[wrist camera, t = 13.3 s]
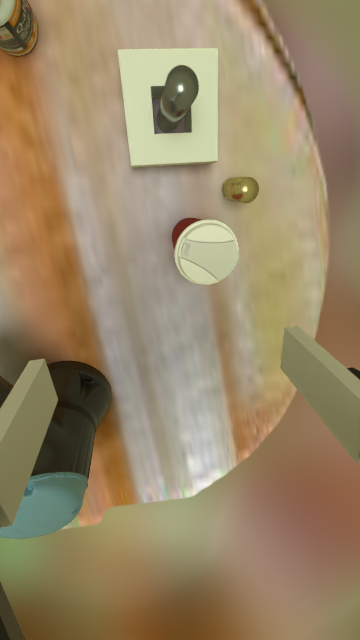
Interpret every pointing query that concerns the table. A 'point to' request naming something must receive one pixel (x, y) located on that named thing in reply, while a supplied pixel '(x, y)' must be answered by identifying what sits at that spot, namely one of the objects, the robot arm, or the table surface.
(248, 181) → the short pin
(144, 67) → the hole block
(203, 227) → the paper cup
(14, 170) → the table surface
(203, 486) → the table surface
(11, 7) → the pill bottle
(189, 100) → the long pin
